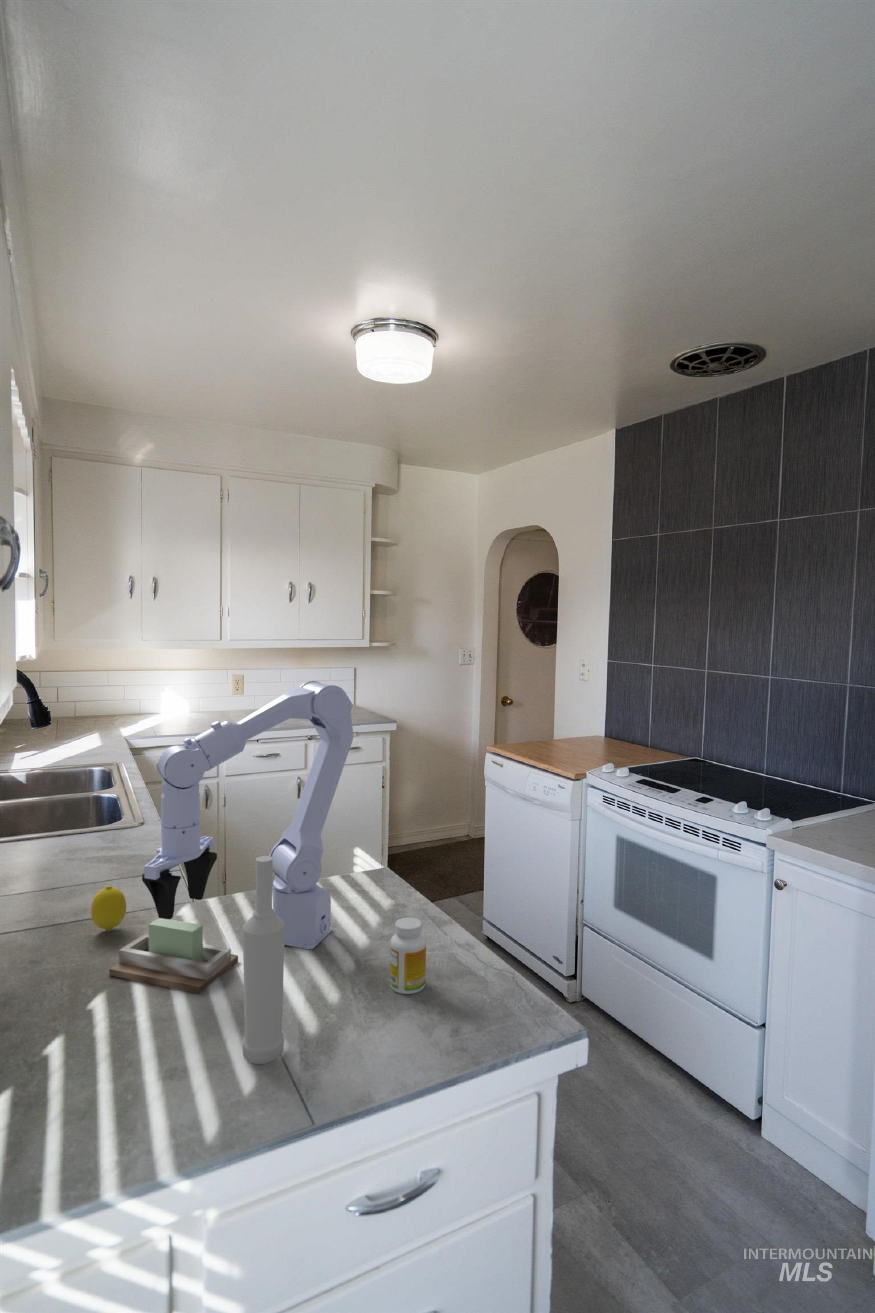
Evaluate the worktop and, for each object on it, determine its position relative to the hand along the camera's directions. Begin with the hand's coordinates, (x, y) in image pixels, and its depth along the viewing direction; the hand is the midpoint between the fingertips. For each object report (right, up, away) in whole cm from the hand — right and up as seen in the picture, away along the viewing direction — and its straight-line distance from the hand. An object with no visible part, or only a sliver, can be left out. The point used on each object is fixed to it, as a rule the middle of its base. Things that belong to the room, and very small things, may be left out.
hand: (181, 907), depth 109 cm
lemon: (-17, -8, +11) cm, 22 cm away
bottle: (+18, -11, -22) cm, 30 cm away
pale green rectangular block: (0, -8, -1) cm, 8 cm away
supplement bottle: (+36, -10, -5) cm, 38 cm away
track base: (0, -9, -1) cm, 9 cm away
